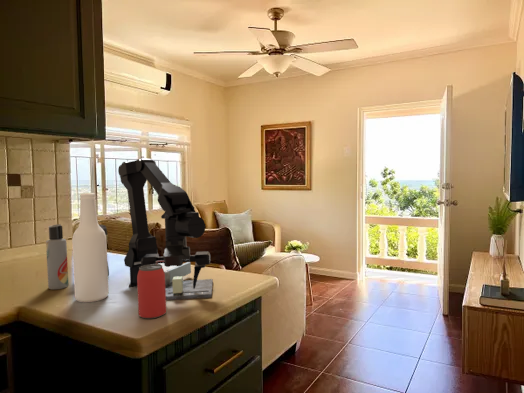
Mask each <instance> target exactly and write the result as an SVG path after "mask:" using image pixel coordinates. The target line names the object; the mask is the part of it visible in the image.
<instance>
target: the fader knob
mask: <svg viewBox="0 0 524 393" xmlns="http://www.w3.org/2000/svg"><path fill="white" fill-rule="evenodd" d="M183 281H184V279H183V276H178V277H173V279H172V282H173V294H174V293H182V292H183Z"/></svg>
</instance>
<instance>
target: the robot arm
mask: <svg viewBox="0 0 524 393" xmlns="http://www.w3.org/2000/svg"><path fill="white" fill-rule="evenodd" d="M117 173H118V175H119V178H120V182H121V184H122V185H123V187H124V188H125V189H126V191H127V197H128V204H129V205H128V206H129V212H130V213H129V214H130V220H131V229H132V236H131V237H130V240H129V243H128V251H127V252H126V255H125V257H124V259H123V261H124V266H125V267H127V268H129V279H130V280H129V283H128V286H129V287H137V275H138V272H139V267H141V266H144V265H150V264H159V265H161V264H164V267H167V268H169V267H177V266H181V265H183V264H184V263H187V262H191V263H195V264H194V269H193V272H194V273H193V289H195V286H196V282H197V280H198V278H199V274H200V272H201V270H202V268H203V269H205V268H206V266H207V265H210V264H211V253H210V252H209V251H196V252H195V254H192V255H191V248H190V246H187V238H194V239H199V238H201V237H203V235H204V234H205V231H206V227H207V226H206V223H205V220H204V219H203V218H202V217H201V216H200V213H199V211H196V208H195V207H194V205H193V203H192V201H191V199H190V196H189V194H188V193H187V191H186V190H185V189H183V188H182V187H180V186H179V185H176V184H173V182H171V181H170V180H169V178H168V177H167V176H166V175H165V173H163V171H162V170H161V169H160V167H158V165H157V162H156V161H155V160H154V159H153V158H139V159H136V160H132V161H123V162H122V163H121V164H120V165H119V166H118V172H117ZM147 182H148V184H149V185H151V187H152V188H153V190H154V191H155V192H156V194H157V202H158V204H159V206H160V208H161V209H162V210H163V211H164V212H163V214H161V216H160V218H161V219H164V229H165V230H164V231H165V232H164V233H165V247H164V250H163V252H164V253H163V256H160V254H159V253H158V252H159V251H158V250H159V248H158V245H157V243H158V242H157V238H156V236H155V235H154V236H153V235H152V234H151V233H150V230H149V222H148V214H147V207H146V201H145V200H146V199H145V189H144V187H145V185H146V183H147Z"/></svg>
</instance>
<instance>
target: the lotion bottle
mask: <svg viewBox="0 0 524 393" xmlns="http://www.w3.org/2000/svg"><path fill="white" fill-rule="evenodd" d="M63 231H64V230H63V225H62V224H61V223H60V224H59V223H58V224H57V223H56V224H53V225H49V226H48V240H46V241H45V248H46V268H47V269H46V270H47V283H48V284H47V285H48V289H50V290H60V289H65V288H68V286H69V270H68V269H69V268H68V267H69V266H68V265H69V264H68V250H67V249H68V247H67V244H68V243H67V239H66V238H64V233H63Z"/></svg>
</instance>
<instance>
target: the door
mask: <svg viewBox="0 0 524 393" xmlns="http://www.w3.org/2000/svg"><path fill="white" fill-rule="evenodd" d="M191 263H192V262H183V265H181V266H173V267H171V268H169V269H167V270H166V271H165V270H164V273H165V284H170V282H172V279H173V277H178V276H183V277H186V276H188V275H190V274H192V265H191Z"/></svg>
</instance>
